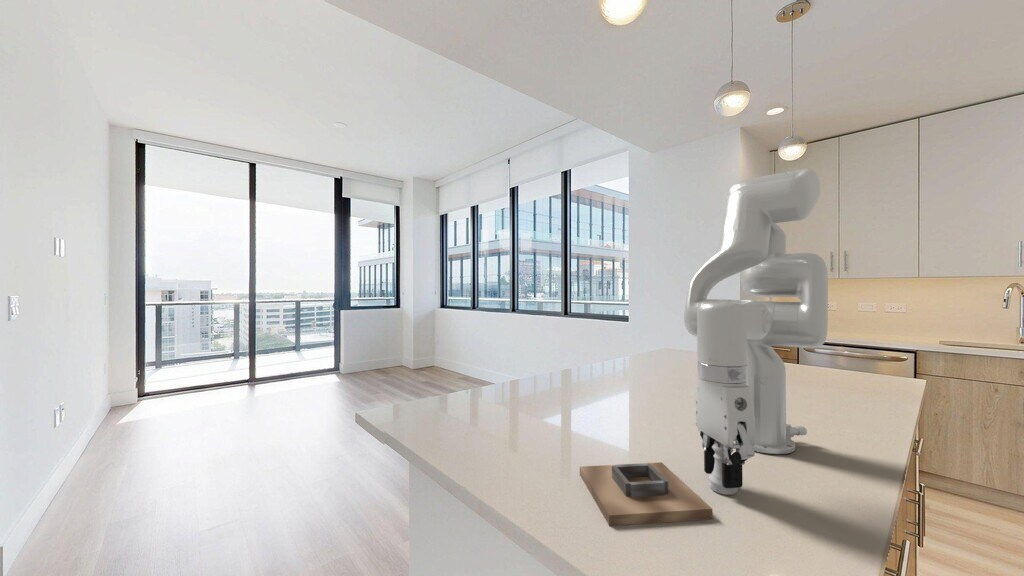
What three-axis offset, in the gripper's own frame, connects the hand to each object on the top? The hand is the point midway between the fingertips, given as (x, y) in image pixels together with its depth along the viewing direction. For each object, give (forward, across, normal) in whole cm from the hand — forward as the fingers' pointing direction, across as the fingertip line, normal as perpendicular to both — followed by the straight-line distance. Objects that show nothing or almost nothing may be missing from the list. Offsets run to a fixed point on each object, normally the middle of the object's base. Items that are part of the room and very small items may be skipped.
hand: (722, 478), depth 68 cm
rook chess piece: (+2, 0, 0) cm, 2 cm away
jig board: (+2, 0, +15) cm, 15 cm away
